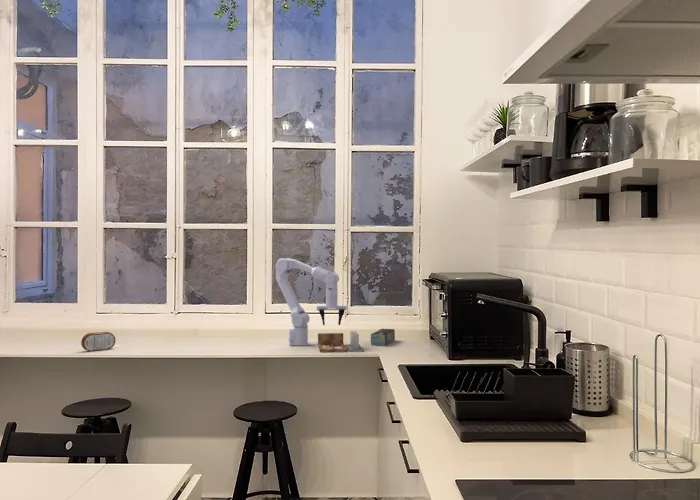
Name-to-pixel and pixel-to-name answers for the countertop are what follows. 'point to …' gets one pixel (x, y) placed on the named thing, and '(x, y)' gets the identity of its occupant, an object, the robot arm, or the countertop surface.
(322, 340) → the rack
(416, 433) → the countertop surface
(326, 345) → the offcut top
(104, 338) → the tin
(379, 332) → the beverage carton
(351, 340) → the shiny grey metal block
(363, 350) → the mat
